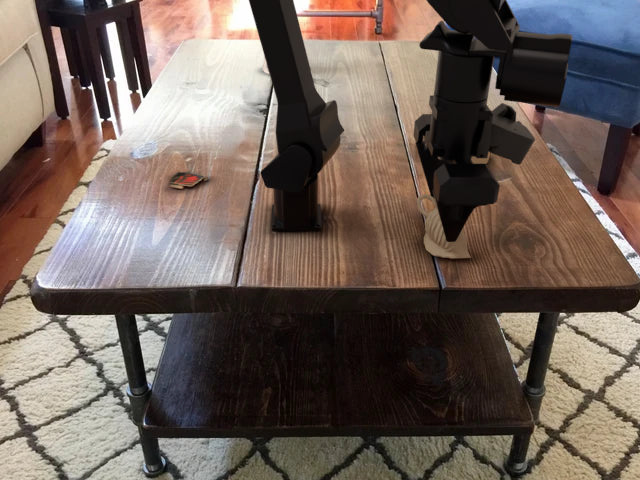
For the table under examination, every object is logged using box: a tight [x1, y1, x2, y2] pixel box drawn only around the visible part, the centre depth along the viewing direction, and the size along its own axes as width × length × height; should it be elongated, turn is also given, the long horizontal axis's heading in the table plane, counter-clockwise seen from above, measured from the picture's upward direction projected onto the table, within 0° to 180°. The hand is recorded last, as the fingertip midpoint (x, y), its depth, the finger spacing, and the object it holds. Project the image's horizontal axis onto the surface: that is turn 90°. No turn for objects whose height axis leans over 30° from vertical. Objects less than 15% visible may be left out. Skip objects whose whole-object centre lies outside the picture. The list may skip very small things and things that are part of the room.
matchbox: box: [168, 171, 209, 190], centre depth 93 cm, size 5×5×1 cm
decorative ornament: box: [416, 193, 472, 260], centre depth 78 cm, size 4×8×5 cm, turn 23°
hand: (443, 221), depth 78 cm, fingers open, 9 cm apart
